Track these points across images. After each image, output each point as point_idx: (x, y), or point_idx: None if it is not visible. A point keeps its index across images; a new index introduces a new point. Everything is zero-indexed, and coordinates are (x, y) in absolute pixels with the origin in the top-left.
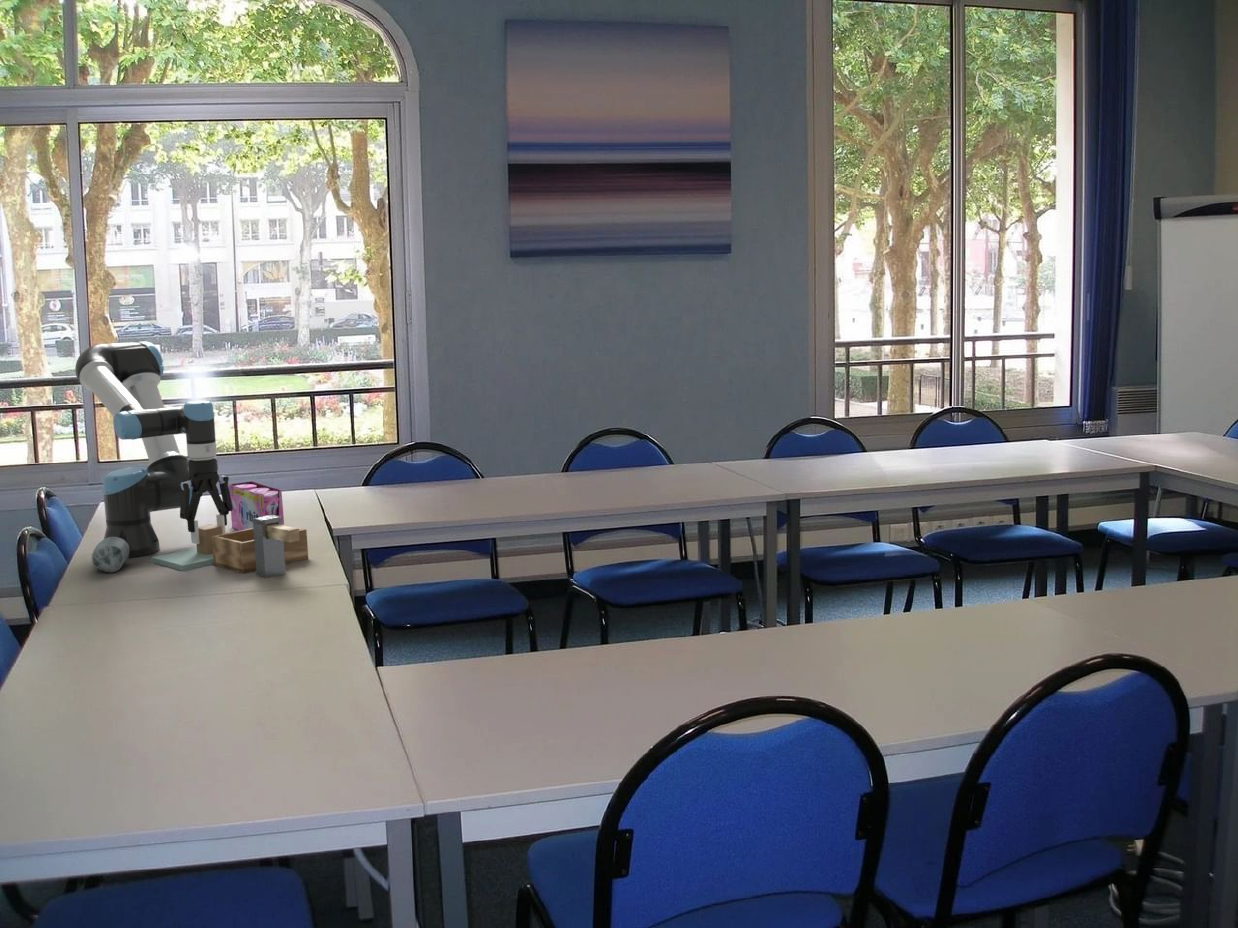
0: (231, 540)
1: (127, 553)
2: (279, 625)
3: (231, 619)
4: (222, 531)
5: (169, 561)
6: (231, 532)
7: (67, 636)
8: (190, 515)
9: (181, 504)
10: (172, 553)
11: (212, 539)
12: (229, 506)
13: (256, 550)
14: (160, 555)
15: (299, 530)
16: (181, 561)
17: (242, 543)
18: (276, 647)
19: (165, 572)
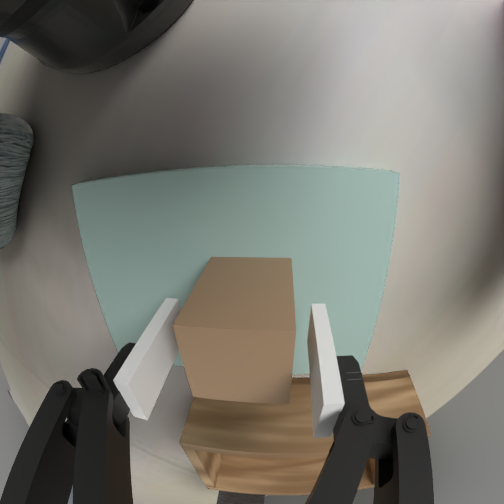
0: (202, 477)
1: (5, 219)
2: (164, 491)
3: (137, 473)
4: (309, 362)
5: (98, 293)
6: (255, 453)
7: (26, 402)
8: (105, 409)
9: (30, 449)
10: (135, 192)
11: (182, 435)
12: (382, 469)
13: (219, 492)
14: (96, 188)
15: (364, 487)
16: (124, 322)
17: (209, 488)
18: (149, 493)
19: (90, 324)
